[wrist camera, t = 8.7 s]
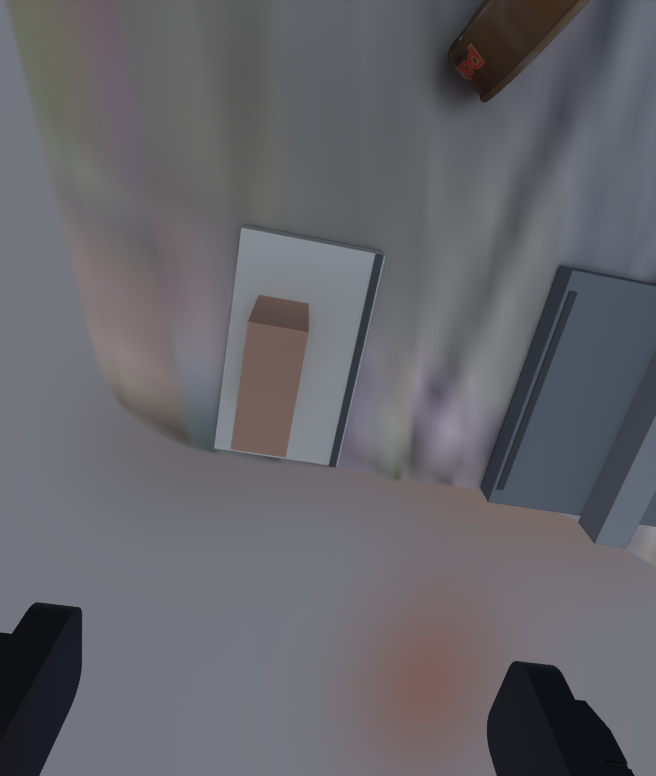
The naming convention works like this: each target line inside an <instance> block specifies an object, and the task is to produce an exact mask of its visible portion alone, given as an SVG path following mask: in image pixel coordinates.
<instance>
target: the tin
mask: <svg viewBox="0 0 656 776" xmlns="http://www.w3.org/2000/svg"><path fill="white" fill-rule="evenodd" d="M589 1H590V0H485V1H484V2H483V3H482V5H481V6H480V7H479V9H478V10H477V12H476V13H475V14H474V16H473V17H472V18H471V20H470V22H469V24H468V25H467V27H466V28H465V29H464V30H463V31H462V33H461V34H460V35H459V36H458V38H457V39H456V40H455V41H454V43H453V44H452V45H451V47H450V49H449V52H448V58H449V60H450V62H451V64H452V65H453V66H454V68H455V69H456V70H457V71H458V72H459V73H460V74H461V76H462V77H463V78H464V79H465V80H466V81H467V82H468V83H469V84H470V85H471V86H472V87H473V88H474V89H475V90H476V92H477V93H478V94H479V95H480V100H481V101H482V102H487V101H488V100H490V99H491V98H492V97H494V96H495V95H496V94H497V93H499V92H500V91H501V90H502V89H503V88H504V87H505V86H506V85H507V84H508V83H510V82H511V81H512V80H513V79H514V78H515V77H516V76H517V75H518V74H519V73H520V72H521V71H522V70H523V69H524V68H525V67H526V66H528V65H529V64H530V63H531V62H532V61H533V60H534V59H535V58H536V57H537V56H538V55H539V54H540V53H541V52H542V51H543V49H544V48H545V47H546V46H547V45H548V44H549V43H550V42H551V41H552V40H553V39H554V38H555V37H556V36H557V35H558V34H559V33H560V32H561V30H562V29H563V28H564V27H565V26H566V25H567V24H568V23H569V22H570V21H571V20H572V19H573V18H574V17H575V16H576V15H577V14H578V13H579V12H580V11H581V10H582V9H583V7H584V6H585V5H586V4H587V3H588V2H589Z"/></svg>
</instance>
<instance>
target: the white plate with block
mask: <svg viewBox="0 0 656 776" xmlns="http://www.w3.org/2000/svg"><path fill="white" fill-rule="evenodd" d="M385 256H386V255H385V254H384V253H383V252H382V251H378V250H373V249H368V248H363V247H358V246H353V245H347V244H342V243H337V242H332V241H327V240H322V239H317V238H311V237H306V236H301V235H296V234H291V233H286V232H281V231H275V230H270V229H265V228H260V227H255V226H250V225H244V226H243V227H242V228H241V235H240V243H239V251H238V260H237V268H236V276H235V284H234V292H233V300H232V308H231V316H230V324H229V332H228V341H227V349H226V357H225V365H224V373H223V381H222V389H221V397H220V405H219V413H218V422H217V430H216V438H215V446H214V448H216V449H223V450H229V451H236V452H243V453H249V454H256V455H263V456H270V457H276V458H283V459H290V460H296V461H303V462H310V463H317V464H323V465H329V466H331V467H336V466H338V462H339V457H340V453H341V449H342V444H343V440H344V435H345V431H346V427H347V422H348V418H349V414H350V409H351V405H352V400H353V396H354V392H355V387H356V383H357V379H358V374H359V370H360V366H361V361H362V357H363V352H364V348H365V344H366V339H367V335H368V331H369V326H370V322H371V317H372V313H373V309H374V304H375V300H376V296H377V291H378V287H379V282H380V278H381V274H382V269H383V265H384V261H385Z"/></svg>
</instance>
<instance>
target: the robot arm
mask: <svg viewBox="0 0 656 776" xmlns="http://www.w3.org/2000/svg"><path fill="white" fill-rule="evenodd" d="M81 669H82V611H81V608H79V607H73V606H64V605H56V604H47V603H39V602H36V603H34V604H33V605H32V606H31V607H30V608H29V609H28V610H27V612H26V613H25V615H24V616H23V618H22V619H21V621H20V623H19V624H18V625H17V627H16V628H15V630H14V631H13V633H12V634H8V633H0V776H39V775H40V773H41V771H42V769H43V766H44V764H45V762H46V760H47V758H48V756H49V753H50V751H51V749H52V747H53V745H54V743H55V740H56V738H57V736H58V734H59V732H60V730H61V727H62V725H63V723H64V721H65V718H66V717H67V714H68V712H69V710H70V708H71V705H72V703H73V700H74V698H75V695H76V692H77V688H78V685H79V681H80V676H81ZM487 740H488V746H489V751H490V755H491V758H492V761H493V765H494V768H495V771H496V775H497V776H634V774H633V772H632V770H631V769H628V767H627V761H626V759H625V757H624V755H623V754H622V751H621V749H620V748H619V746H618V744H617V742H616V740H615V738H614V736H613V734H612V732H611V730H610V729H609V728H608V727H607V726H606V725H605V723H604V722H603V721H602V720H601V719H600V718H599V716H598V715H597V714H596V713H595V712H594V711H593V709H592V708H591V707H590V706H589V705H588V704H587V703H586V701H582V700H575V698H574V696H573V694H572V693H571V691H570V688H569V686H568V684H567V682H566V680H565V678H564V676H563V674H562V673H561V672H560V670H559V669H558V668H557V667H555V666H553V665H545V664H536V663H529V662H520V661H515V662H513V663H512V664H511V665H510V667H509V669H508V671H507V673H506V676H505V678H504V680H503V683H502V685H501V687H500V689H499V692H498V694H497V696H496V699H495V701H494V703H493V705H492V708H491V710H490V712H489V716H488V721H487Z"/></svg>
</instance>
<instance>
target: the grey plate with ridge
mask: <svg viewBox="0 0 656 776" xmlns="http://www.w3.org/2000/svg"><path fill="white" fill-rule="evenodd" d="M481 490H482V492H483V494H484V496H485V497H486V499H487V501H488V502H491V503H498V504H505V505H512V506H519V507H525V508H532V509H539V510H546V511H553V512H560V513H566V514H573V515H580V516H581V517H580V519H579V522H578V523H579V524H580V525H581V527H582V528H583V529H584V531H585V532H586V533H587V534H588V536H589V537H590V538H591V540H592V541H593V542H594V544H600V545H607V546H614V547H621V548H627V546H628V544H629V542H630V540H631V538H632V536H633V534H634V532H635V530H636V528H637V527H638V525H639V524H641V525H648V526H655V527H656V284H652V283H646V282H641V281H636V280H631V279H626V278H621V277H616V276H611V275H606V274H601V273H596V272H591V271H586V270H581V269H576V268H571V267H566V266H561V265H560V266H559V268H558V271H557V274H556V277H555V280H554V282H553V285H552V288H551V291H550V294H549V297H548V299H547V302H546V305H545V308H544V311H543V313H542V316H541V319H540V322H539V325H538V327H537V330H536V333H535V336H534V339H533V342H532V344H531V347H530V350H529V353H528V356H527V358H526V361H525V364H524V367H523V370H522V372H521V375H520V378H519V381H518V384H517V387H516V389H515V392H514V395H513V398H512V401H511V403H510V406H509V409H508V412H507V415H506V417H505V420H504V423H503V426H502V429H501V432H500V434H499V437H498V440H497V443H496V446H495V448H494V451H493V454H492V457H491V460H490V462H489V465H488V468H487V471H486V474H485V477H484V479H483V482H482V485H481Z"/></svg>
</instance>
